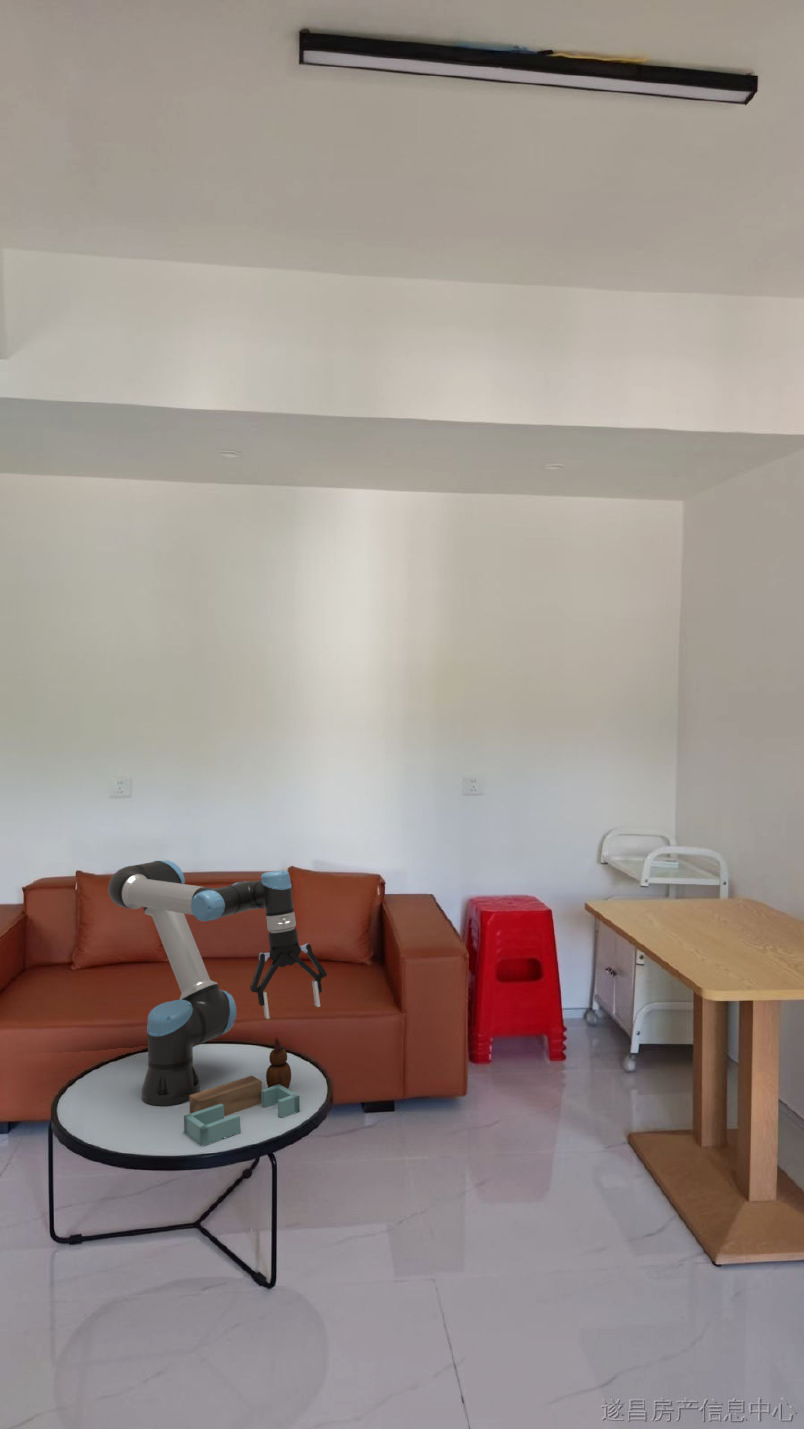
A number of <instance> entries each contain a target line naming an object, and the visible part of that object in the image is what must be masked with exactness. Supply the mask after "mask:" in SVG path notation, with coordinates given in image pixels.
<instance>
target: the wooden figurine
mask: <svg viewBox="0 0 804 1429" xmlns="http://www.w3.org/2000/svg"><path fill="white" fill-rule="evenodd" d="M287 1052H288V1051H287V1050H286V1049H285V1048H282V1042H281V1041H280V1040H279V1037H275V1039H274V1049H272V1050H271V1051H270V1052H269V1063H270V1065H269V1067H268V1068H267V1069H266V1073H265V1082H266V1086H267V1088H269V1087H272V1086H275V1085H278V1084H280V1085H282V1086H283V1087H285V1088H287V1089H289V1088H290V1085H291V1081H292V1069H291V1066H290V1064H289V1062H287V1061H288V1053H287Z"/></svg>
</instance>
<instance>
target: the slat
mask: <svg viewBox="0 0 804 1429" xmlns="http://www.w3.org/2000/svg"><path fill="white" fill-rule="evenodd" d="M262 1082H263V1081H262V1080H261V1079H259V1078H257V1077H256V1076H253V1075H249V1076H246V1077H243V1078H240V1079H236V1080H234V1081H230V1082H228V1083H224V1084H223V1083H222V1084H221V1085H218V1086H213V1087H211V1088H208V1089H205V1090H202V1091H200V1092H198V1093H195V1094H192V1095H189V1100H188V1101H189V1114H191V1113H194V1112H197V1111H200V1110H203V1109H206V1108H209V1107H212V1106H215V1105H218V1104H223V1105H224V1117H228V1116H229V1115H230V1116H231V1115H232V1114H236V1113H238V1112H241V1111H245V1110H247V1109H250V1108H252V1107H253V1108H254V1107H256V1106H259V1105H261V1090H263V1086H262V1085H263V1083H262ZM235 1112H236V1113H235Z"/></svg>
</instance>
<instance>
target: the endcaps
mask: <svg viewBox="0 0 804 1429" xmlns="http://www.w3.org/2000/svg"><path fill="white" fill-rule="evenodd" d="M300 1100H301V1099H300V1095H299V1094H297V1093H296V1092H294V1091H293V1090H290V1089H289V1088H288V1089H287V1088H285V1087H283V1086H282V1085H280V1084H278V1085H275V1086H272V1087H269V1088H268V1087H267V1088H264V1089H263V1088H262V1090H261V1104H260V1105H261V1107H262V1108H264V1109H265V1108H267V1107H268V1108H269V1107H271V1106H273V1105H276V1104H277V1116H278V1118H280V1119H281V1118H282V1119H283V1118H284V1117H288V1116H291V1115H293V1113H294V1114H296V1113H298V1112H300V1111H301V1110H300V1109H301V1108H300V1106H301V1105H300ZM295 1112H296V1113H295ZM290 1114H291V1115H290ZM183 1132H184V1133H185V1134H186V1135H187V1136H189V1137H190V1138H191V1139H192V1140H194V1141H195V1142H196V1143H197V1144H199V1145H200V1146H202V1145H203V1146H202V1147H205V1146H207V1145H208V1146H209V1145H210V1143H211V1144H213V1142H214V1143H216V1142H218V1141H217V1140H219V1141H221V1140H220V1139H222V1138H224V1137H227V1138H230V1137H233V1136H236V1135H238V1134H240V1133H241V1132H242V1130H241V1115H239V1114H238V1113H235V1114H234V1115H230V1116H226V1117H225V1116H224V1105H223V1104H218V1105H215V1106H212V1107H209V1108H206V1109H203V1110H200V1111H197V1112H194V1113H191V1114H190V1113H188V1114H185V1115H184V1116H183ZM237 1133H238V1134H237ZM235 1134H236V1135H235ZM232 1135H233V1136H232ZM222 1140H223V1139H222ZM215 1141H216V1142H215ZM204 1145H205V1146H204Z"/></svg>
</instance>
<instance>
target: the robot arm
mask: <svg viewBox="0 0 804 1429" xmlns="http://www.w3.org/2000/svg"><path fill="white" fill-rule="evenodd" d="M260 877H261V878H260V879H261V880H250V881H249V880H248V881H247V880H243V881H239V882H235V883H233V884H230V885H226V886H223V887H217V888H214V887H205V886H202V885H201V886H199V885H193V884H192V885H191V884H185V883H186V879H185V875H184V873H183V870H182V869H181V868H180V867H179V866H178V865H177V863H175V862H173V861H170V860H153V861H151V862H146V863H139V864H134V865H128V866H124V867H122V868H120V869H119V870H117V871H116V872H115V873H113V875H112V876H111V878H110V880H109V883H108V886H107V891H108V896H109V898H110V900H111V901H112V903H114V904H115V905H116V906H118V907H121V908H125V909H131V910H136V909H137V910H138V909H140V908H142V910H143V911H144V914H145V915H147V916H151V917H152V920H153V922H154V925H155V928H156V931H157V932H158V933H157V934H158V936H159V938H160V941H161V943H162V946H163V949H164V951H165V953H166V955H167V959H168V962H169V964H170V966H171V967H170V968H171V970H172V972H173V975H174V978H175V980H176V982H177V984H178V989H179V990H180V993H181V994H180V997H179V999H174V1000H171V1001H166V1002H165V1001H164V1002H163V1003H160V1004H159V1005H156V1006H155V1007H153V1008H152V1009H151V1010H150V1011H149V1013H148V1016H147V1026H146V1033H147V1061H148V1062H147V1066H148V1067H147V1071H146V1074H145V1077H144V1081H143V1084H142V1088H141V1099H142V1101H143V1102H145V1103H146V1104H148V1105H153V1106H160V1107H161V1106H162V1107H163V1106H172V1105H178V1104H183V1103H185V1102H188V1101H190V1100H189V1095H192V1094H195V1093H198V1092H201V1081H200V1078H199V1076H198V1072H197V1070H196V1066H195V1064H194V1055H193V1054H194V1050H193V1048H194V1047H196V1046H198V1045H202V1044H204V1043H206V1042H209V1041H211V1040H214V1039H217V1038H219V1037H221V1036H222V1035H225V1034H226V1033H228V1032H229V1031H230V1030H231V1029H232V1028H233V1026H234V1025H235V1022H236V1018H237V1006H236V1001H235V998H234V997H233V995H232V994H230V993H229V992H228V991H226V990H223V989H222V990H221V988H220V986H219V983H218V982H216V981H213V980H211V979H210V975H209V973H208V970H207V969H206V965H205V963H204V961H203V958H202V956H201V953H200V950H199V948H198V946H197V945H198V944H197V943H196V941H195V938H194V935H193V933H192V930H191V928H190V926H189V922H188V920H187V918H186V915H191V916H192V915H193V916H194V917H195V918H196V919H197V920H198V921H200V922H208V921H215V920H217V919H221V918H224V917H228V916H232V915H236V914H239V913H243V912H246V911H247V912H248V911H251V910H258V909H264V911H265V918H266V925H267V931H268V932H269V933H268V934H267V935H268V942H269V952H264V953H263V952H259V953H258V962H257V965H256V968H255V971H254V974H253V977H252V981H251V983H250V987H249V990H250V991H251V992H252V993H255V994H257V999H258V1004H259V1006H260V1007H263V1014H264V1016H263V1017H264V1018H265V1019H267V1020H268V1019H270V1011H269V1003H268V996H267V995H268V994H267V992H266V991H265V989H266V988H267V986H268V984H269V982H270V981H271V979H272V977H273V976H274V974H275V972H276V971H277V970H278V968H279V967H281V968H285V967H287V966H293V965H295V964H297V965H298V966H299V967H300V968H301V969H303V970H304V971H305V972H306V973H307V974H308V975H310V976H311V977H312V978H313V980H311V986H312V992H313V993H312V994H313V1001H314V1002H313V1003H314V1006H315V1007H316V1008H320V1007H321V1002H320V995H319V993H320V994H321V993H322V991H323V988H322V979H323V978H325V977H327V975H328V973H327V971H326V970H325V968H324V967H323V965H322V964H321V962H320V961H319V960H318V958H317V956H316V955H315V954H314V952H313V948H312V945H311V944H310V943H308V942H305V943H304V944H302V945H300V944H299V937H298V935H299V934H298V929H297V928H295V927H296V926H297V922H296V921H297V920H296V915H295V907H294V899H293V889H292V885H293V884H292V882H291V878H290V873H289V871H288V870H286V869H279V870H274V871H273V870H272V871H268V872H267V871H266V872H263V873H262V874H261V876H260ZM302 952H303V953H305V954H306V955H307V956H308V958H309V960H310V962H312V964H313V965H314V967H315V968H316V970H317V971H318V973H316V971H315V970H314V969H312V968H311V967H310V966H309V965H308V964H306V962H304V960H302V959H301V958H300V957H299V956H300V954H301V953H302ZM269 958H270V960H272V962H271V963H270V965H269V968H268V969H267V971H266V973H265V974H264V977H263V978H262V980H261V976H262V973H263V970H264V968H265V964H266V962H267V961H268V959H269ZM260 980H261V981H260Z"/></svg>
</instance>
